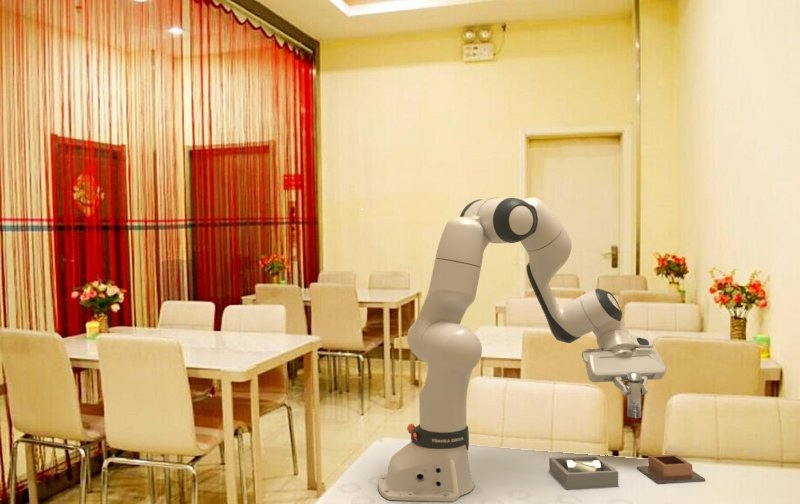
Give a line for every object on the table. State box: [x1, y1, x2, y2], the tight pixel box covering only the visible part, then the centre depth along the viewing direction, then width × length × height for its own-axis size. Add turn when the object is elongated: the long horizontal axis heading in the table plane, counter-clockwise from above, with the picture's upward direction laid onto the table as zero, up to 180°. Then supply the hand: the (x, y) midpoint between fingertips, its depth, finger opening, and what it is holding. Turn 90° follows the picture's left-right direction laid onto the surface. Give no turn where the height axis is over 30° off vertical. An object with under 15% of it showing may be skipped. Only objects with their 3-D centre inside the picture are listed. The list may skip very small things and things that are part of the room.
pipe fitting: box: [565, 460, 601, 473], centre depth 153 cm, size 8×4×7 cm
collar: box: [636, 454, 706, 485], centre depth 154 cm, size 12×10×4 cm
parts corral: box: [548, 454, 619, 490], centre depth 152 cm, size 12×12×4 cm
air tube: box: [626, 372, 642, 419], centre depth 159 cm, size 3×3×11 cm
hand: (635, 393), depth 159 cm, fingers closed on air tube, 3 cm apart
